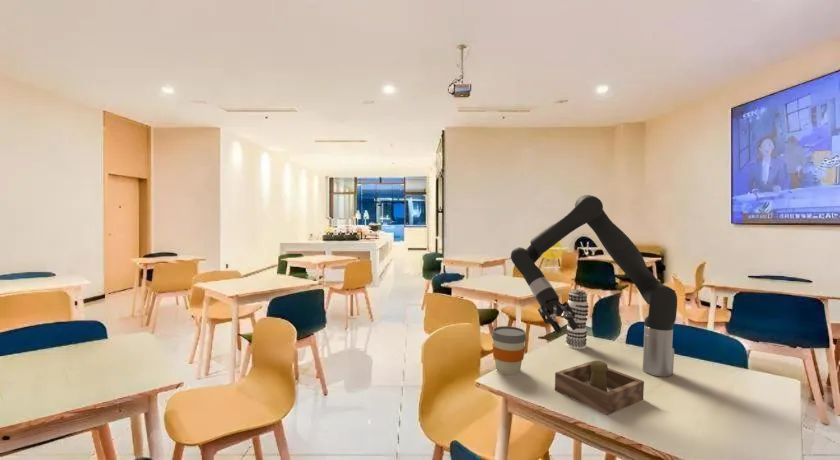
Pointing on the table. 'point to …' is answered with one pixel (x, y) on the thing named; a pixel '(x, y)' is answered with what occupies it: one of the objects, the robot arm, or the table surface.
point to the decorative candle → (577, 319)
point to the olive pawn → (599, 375)
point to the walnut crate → (606, 402)
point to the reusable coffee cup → (508, 349)
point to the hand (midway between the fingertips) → (568, 330)
